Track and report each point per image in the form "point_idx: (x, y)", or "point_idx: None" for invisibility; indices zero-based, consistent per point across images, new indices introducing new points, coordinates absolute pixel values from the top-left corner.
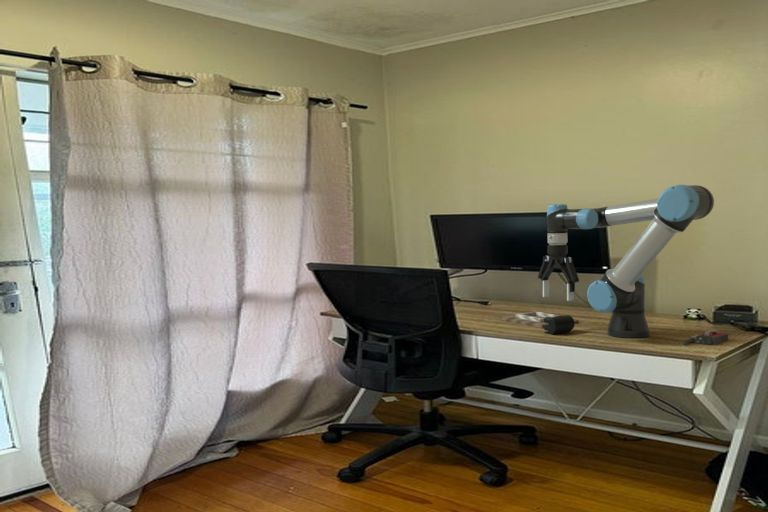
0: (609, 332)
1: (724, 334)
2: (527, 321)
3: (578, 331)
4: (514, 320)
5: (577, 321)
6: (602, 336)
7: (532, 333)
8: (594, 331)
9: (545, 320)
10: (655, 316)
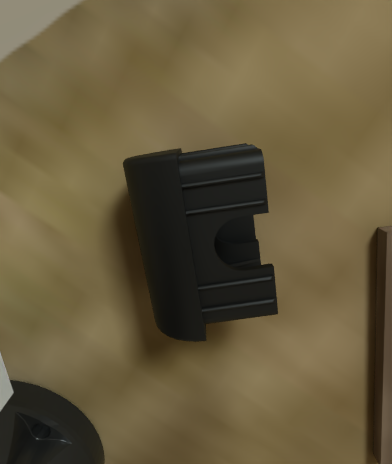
0: (14, 391)
1: None
2: None
3: None
4: None
5: (377, 454)
6: (19, 345)
7: (273, 75)
8: (149, 388)
9: (238, 151)
10: None
